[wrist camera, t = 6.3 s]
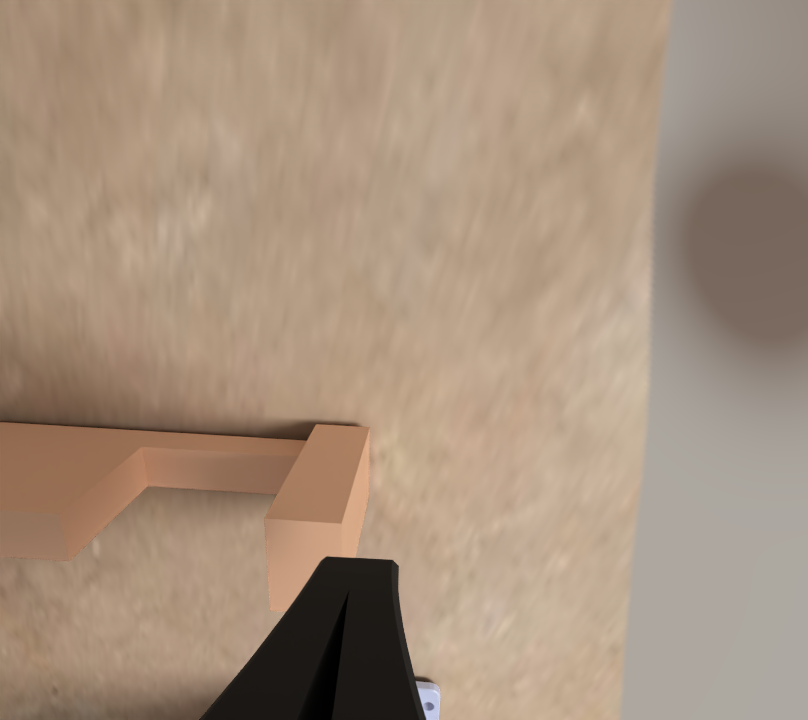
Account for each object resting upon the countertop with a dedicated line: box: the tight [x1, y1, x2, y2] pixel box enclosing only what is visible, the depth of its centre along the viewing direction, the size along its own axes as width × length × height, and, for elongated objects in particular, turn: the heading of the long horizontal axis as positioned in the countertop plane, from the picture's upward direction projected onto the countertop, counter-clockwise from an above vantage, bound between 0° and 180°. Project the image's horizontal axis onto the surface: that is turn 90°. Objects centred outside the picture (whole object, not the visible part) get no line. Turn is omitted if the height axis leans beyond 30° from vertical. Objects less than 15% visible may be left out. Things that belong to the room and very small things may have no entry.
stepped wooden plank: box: [0, 422, 370, 612], centre depth 16 cm, size 3×23×6 cm, turn 88°
